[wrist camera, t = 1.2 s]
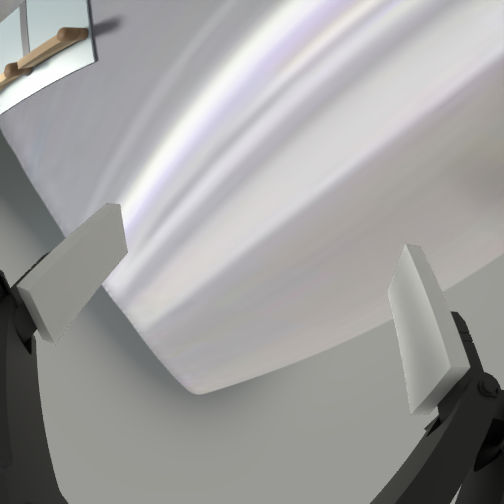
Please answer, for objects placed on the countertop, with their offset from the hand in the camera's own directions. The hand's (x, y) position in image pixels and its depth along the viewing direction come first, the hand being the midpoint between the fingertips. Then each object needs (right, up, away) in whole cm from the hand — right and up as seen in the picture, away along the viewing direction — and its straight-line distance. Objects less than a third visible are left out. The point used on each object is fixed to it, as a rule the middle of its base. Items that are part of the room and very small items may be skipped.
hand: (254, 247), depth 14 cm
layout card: (-36, +33, +17) cm, 52 cm away
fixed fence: (-29, +29, +17) cm, 45 cm away
